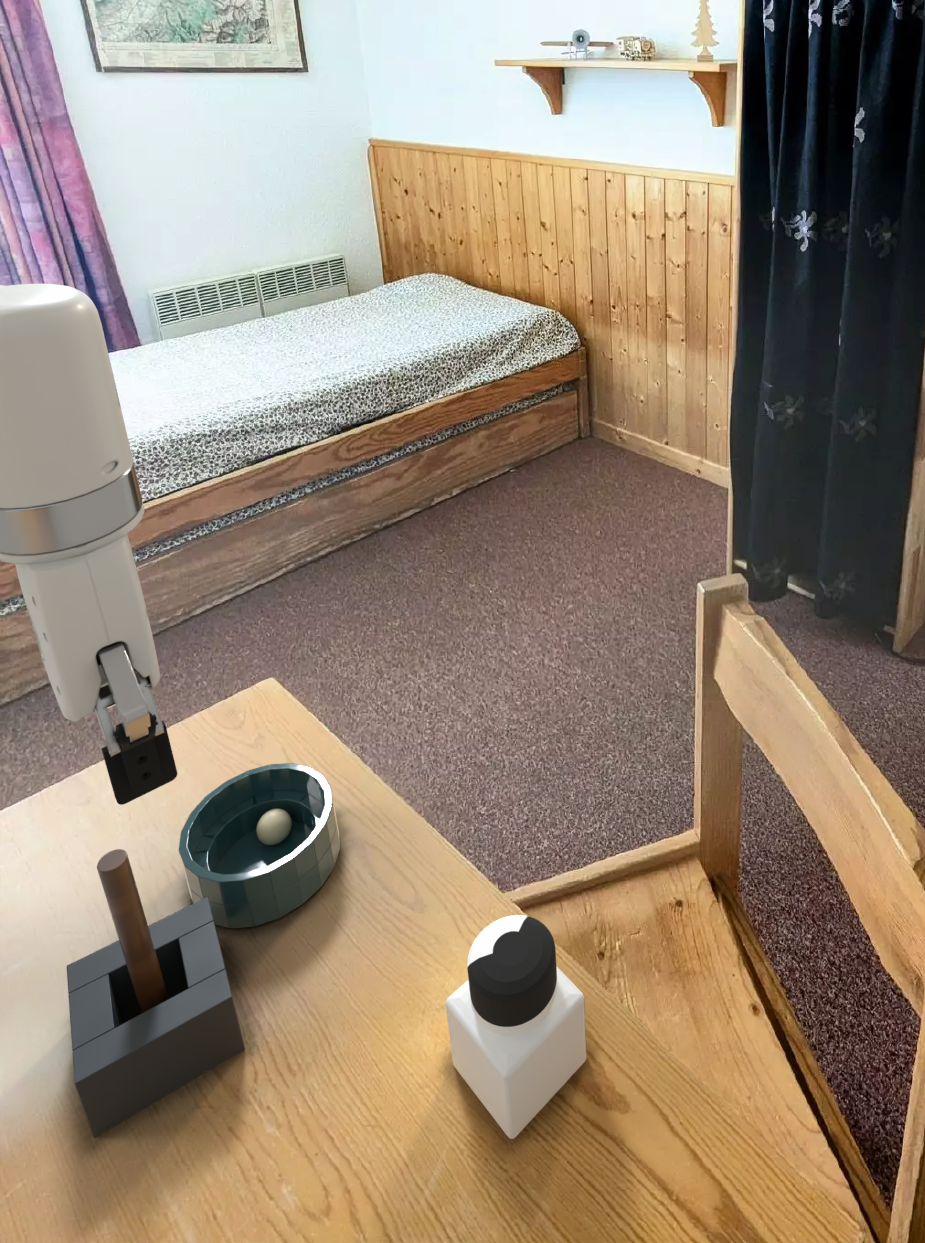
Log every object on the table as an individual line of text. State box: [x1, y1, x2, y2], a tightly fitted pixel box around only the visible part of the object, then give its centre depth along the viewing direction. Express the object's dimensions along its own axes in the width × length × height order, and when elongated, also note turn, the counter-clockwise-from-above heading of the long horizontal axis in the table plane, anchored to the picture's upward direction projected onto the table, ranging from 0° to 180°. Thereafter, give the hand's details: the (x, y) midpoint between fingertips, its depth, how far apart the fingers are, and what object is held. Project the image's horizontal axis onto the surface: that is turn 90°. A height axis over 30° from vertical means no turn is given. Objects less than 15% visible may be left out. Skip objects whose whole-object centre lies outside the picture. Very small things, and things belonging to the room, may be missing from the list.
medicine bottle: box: [445, 914, 587, 1140], centre depth 61 cm, size 7×7×12 cm
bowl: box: [178, 762, 341, 929], centre depth 77 cm, size 12×12×6 cm
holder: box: [66, 897, 246, 1139], centre depth 64 cm, size 10×10×6 cm
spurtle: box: [96, 848, 169, 1014], centre depth 62 cm, size 2×2×18 cm
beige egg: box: [256, 809, 292, 845], centre depth 80 cm, size 3×3×3 cm
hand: (127, 743), depth 54 cm, fingers open, 9 cm apart
